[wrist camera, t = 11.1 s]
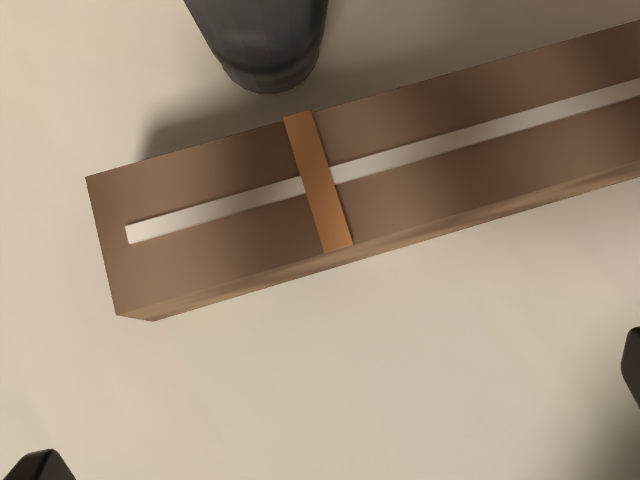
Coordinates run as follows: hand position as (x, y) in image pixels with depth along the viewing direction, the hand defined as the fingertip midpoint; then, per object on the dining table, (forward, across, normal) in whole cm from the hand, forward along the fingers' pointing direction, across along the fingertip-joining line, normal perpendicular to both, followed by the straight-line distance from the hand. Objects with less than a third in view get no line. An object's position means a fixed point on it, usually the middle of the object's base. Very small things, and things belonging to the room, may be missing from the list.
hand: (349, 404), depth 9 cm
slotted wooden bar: (+14, -6, +4) cm, 16 cm away
